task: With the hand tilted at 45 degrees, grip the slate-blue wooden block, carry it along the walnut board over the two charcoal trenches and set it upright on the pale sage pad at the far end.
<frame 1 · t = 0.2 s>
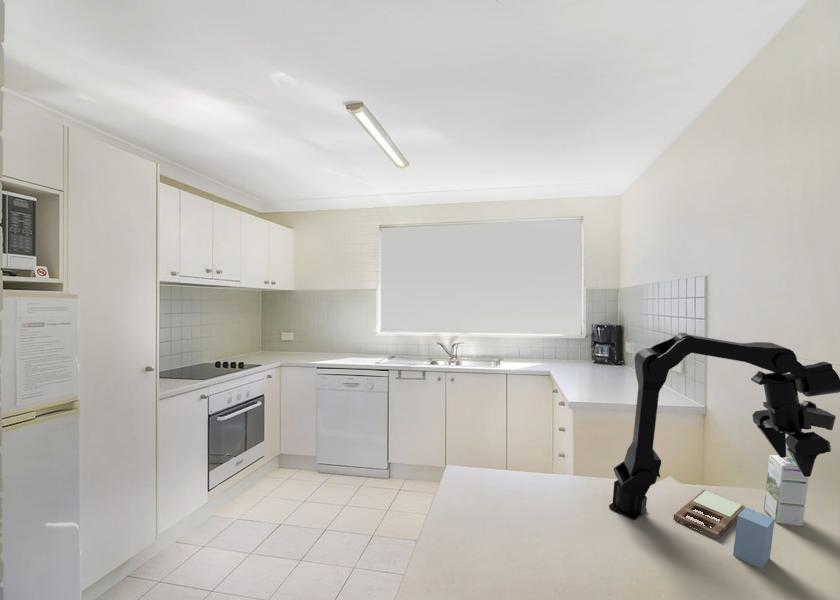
hand: (794, 466, 100), 15 cm above the countertop, tool pointing down, fingers open, 9 cm apart
syrup box: (782, 518, 107), on the countertop
blue block: (751, 557, 93), on the countertop
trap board: (709, 514, 107), on the countertop
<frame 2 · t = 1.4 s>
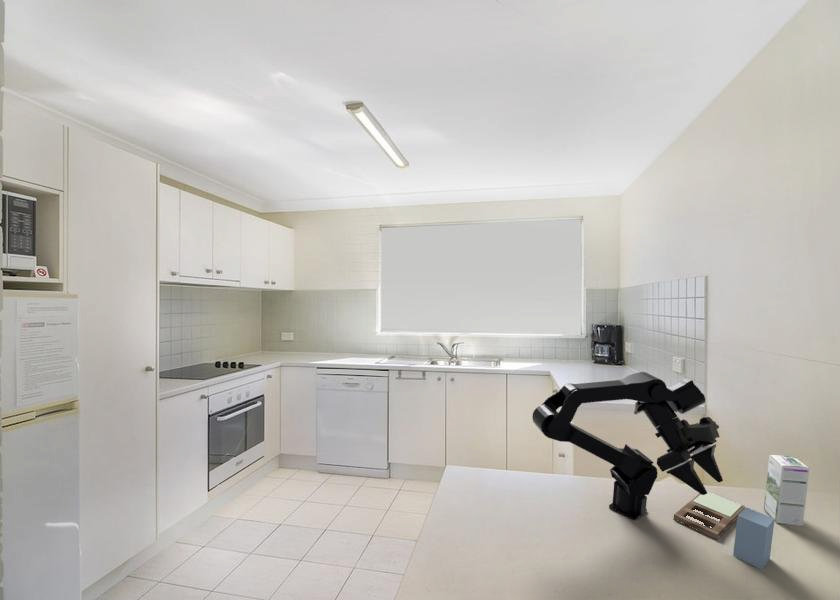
hand: (713, 487, 98), 12 cm above the countertop, tool tilted 45°, fingers open, 9 cm apart
nothing on the countertop moved.
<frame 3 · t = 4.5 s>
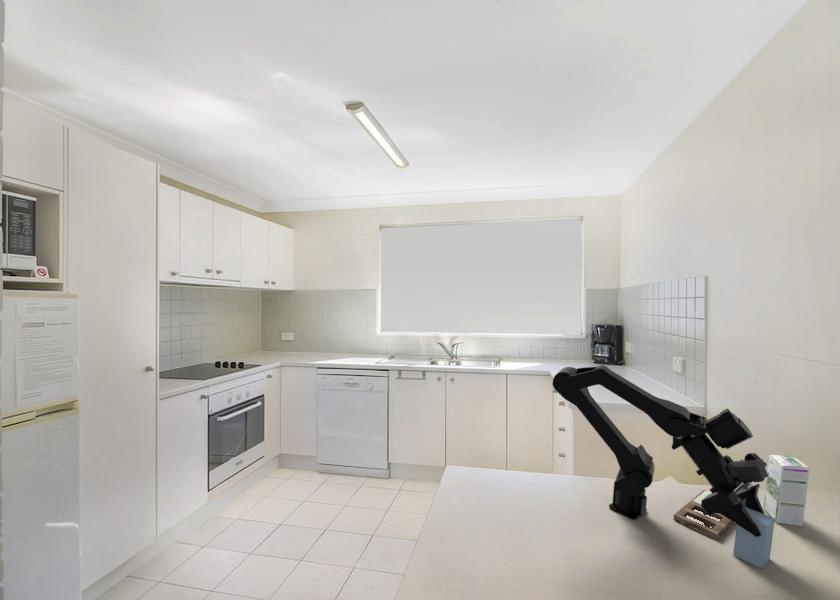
hand: (763, 531, 91), 7 cm above the countertop, tool tilted 45°, fingers closed on blue block, 5 cm apart
blue block: (751, 557, 93), on the countertop, touching gripper
everything else where it was.
when the fingers open (9 cm above the countertop, at t = 9.6 s): blue block drops 1 cm, resting on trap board.
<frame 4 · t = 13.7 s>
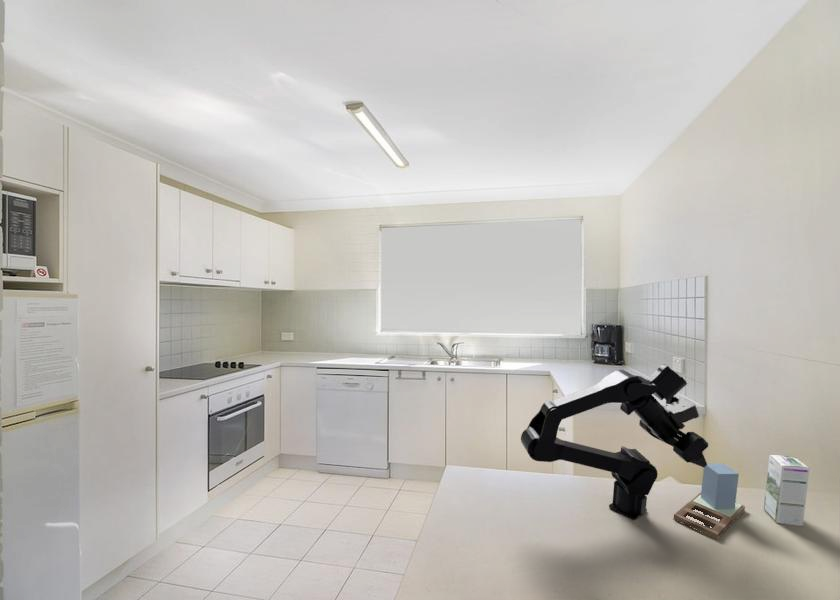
hand: (692, 456, 108), 14 cm above the countertop, tool tilted 45°, fingers open, 9 cm apart
blue block: (717, 503, 110), point 1 cm above the countertop, touching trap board
everything else where it was.
at the end: blue block inside the target area on the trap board (0.0 cm from its centre), point 1.4 cm above the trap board's base; blue block tilted 0°; the gripper is holding nothing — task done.
